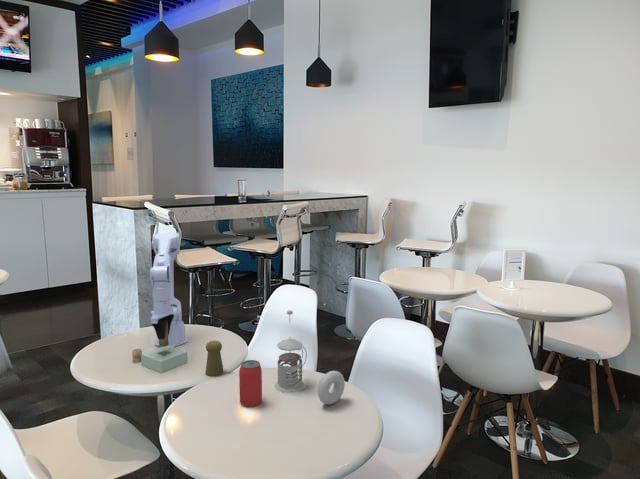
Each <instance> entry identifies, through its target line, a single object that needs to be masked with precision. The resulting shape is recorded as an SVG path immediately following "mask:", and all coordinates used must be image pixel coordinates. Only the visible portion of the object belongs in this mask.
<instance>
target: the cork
mask: <svg viewBox="0 0 640 479" xmlns="http://www.w3.org/2000/svg"><path fill="white" fill-rule="evenodd" d="M222 345H223V344H222V342H221V341H219V340H210V341H208V342H207V343H206V344H205V350H206V352H207V357H206V365H205V376H207V377H211V378H212V377H215V378H216V377H220V376H222V375H223V374H224V367H223V359H222V353H221V350H222V348H223V346H222Z"/></svg>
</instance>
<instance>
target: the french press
mask: <svg viewBox="0 0 640 479" xmlns="http://www.w3.org/2000/svg"><path fill="white" fill-rule="evenodd" d="M293 314H294V312H293V310H292V309H289V310H287V312H286V315H289V318H288V319H289V320H288V321H289V322H291V315H293ZM276 346H277V348H278V349H279V350H281V351H286V352H284V353H281V354H280V355H279V356H278V360H277V382H276V383H275V384H274V388H275V390H276V391H278V392H281V393H286V394H293V393H298V392H301V391H303V390H304V389H305V388H306V384H305V382H304V381H303V367H304V365H305V364H306V361H307V358H308V356H307V355H308V354H307V349H306V347H305V346H303V343H302V342H301V341H300V340H297V339H295V338H288V339H287V338H285V339H283V340H281V341H279V342H278V343H277V344H276ZM287 351H288V352H287ZM292 351H293V352H292ZM294 351H301V355H302V356H301V355H300V353H296V352H294ZM304 351H305V360H304V362H303V356H304ZM282 362H283V363H282ZM298 362H299V364H298Z"/></svg>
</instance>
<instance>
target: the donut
mask: <svg viewBox="0 0 640 479" xmlns="http://www.w3.org/2000/svg"><path fill="white" fill-rule="evenodd" d="M345 383H346V382H345V378H344V376H343V374H342V373H341V372H340V371H337V370H330V371H328V372H326V373H325V374H324V375H323V376H322V378H321V379H320V380H319V384H318V386H317V396H318V399H319V400H320V402H321V403H323V404H324V405H328V406H329V405H334V404H335V403H337V402H338V401H339V400H340V399H341V397H342V395H343V394H344V390H345ZM332 385H333V386H332ZM331 386H332V389H331V390H330V388H331Z"/></svg>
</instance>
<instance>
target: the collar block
mask: <svg viewBox="0 0 640 479" xmlns="http://www.w3.org/2000/svg"><path fill="white" fill-rule="evenodd" d="M140 363H141V366H142V367H145V368H147V369H150V370H152V371H155V372H158V373H159V374H163V373H165V372H168V371H170V370H172V369H174V368H177V367H180V366H182V365H184V364H186V363H188V351H186V350H184V349H180V348H178V347H171V346H165V347H158V348H156V349H153V350H150V351H147V352H144V353H142V354H141V362H140Z"/></svg>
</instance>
